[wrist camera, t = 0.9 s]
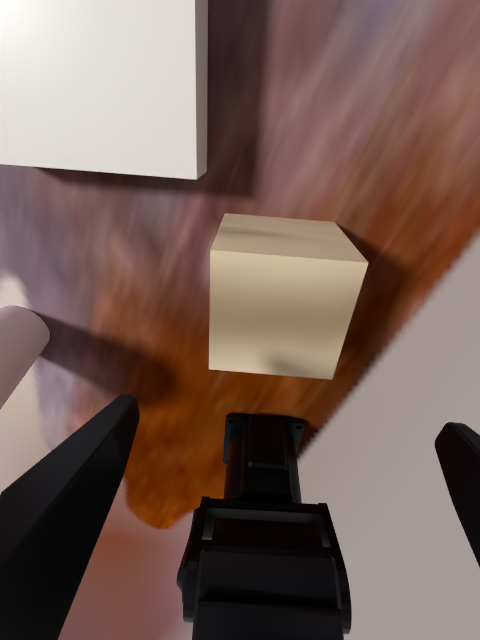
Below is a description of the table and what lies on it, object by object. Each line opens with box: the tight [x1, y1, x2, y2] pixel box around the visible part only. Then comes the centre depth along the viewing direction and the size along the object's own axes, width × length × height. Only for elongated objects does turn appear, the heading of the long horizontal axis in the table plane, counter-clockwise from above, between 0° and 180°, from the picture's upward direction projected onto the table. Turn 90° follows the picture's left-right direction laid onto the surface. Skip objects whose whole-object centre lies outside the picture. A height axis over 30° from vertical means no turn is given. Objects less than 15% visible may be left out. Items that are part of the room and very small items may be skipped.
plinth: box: [0, 0, 208, 180], centre depth 11 cm, size 10×10×3 cm
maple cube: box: [209, 213, 368, 379], centre depth 16 cm, size 6×6×6 cm
